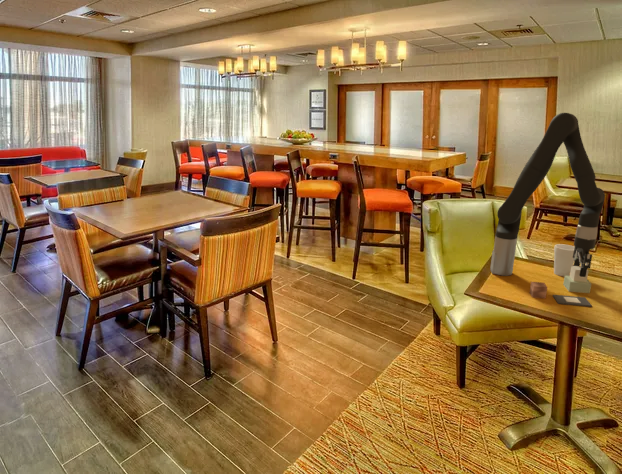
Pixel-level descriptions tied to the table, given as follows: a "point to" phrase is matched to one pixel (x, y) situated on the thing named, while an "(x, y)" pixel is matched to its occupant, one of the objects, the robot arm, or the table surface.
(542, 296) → the terracotta cube
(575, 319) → the table surface
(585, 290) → the green block
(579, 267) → the cream cube
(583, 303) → the card
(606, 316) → the table surface
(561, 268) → the foam cup
